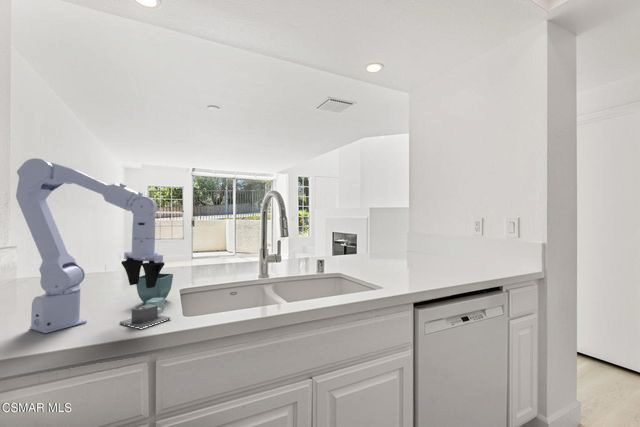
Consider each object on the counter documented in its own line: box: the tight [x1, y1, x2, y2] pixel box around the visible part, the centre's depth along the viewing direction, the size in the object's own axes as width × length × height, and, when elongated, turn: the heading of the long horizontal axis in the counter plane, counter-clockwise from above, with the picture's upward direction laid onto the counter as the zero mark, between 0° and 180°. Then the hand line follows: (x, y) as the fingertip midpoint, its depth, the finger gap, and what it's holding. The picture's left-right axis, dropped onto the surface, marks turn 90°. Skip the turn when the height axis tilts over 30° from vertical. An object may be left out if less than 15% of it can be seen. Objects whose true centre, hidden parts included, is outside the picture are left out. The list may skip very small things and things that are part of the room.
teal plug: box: [145, 297, 166, 310], centre depth 97 cm, size 8×3×4 cm, turn 4°
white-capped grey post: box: [130, 304, 163, 324], centre depth 86 cm, size 8×3×4 cm, turn 154°
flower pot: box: [135, 273, 174, 304], centre depth 107 cm, size 9×9×9 cm
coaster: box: [119, 314, 171, 328], centre depth 86 cm, size 9×9×1 cm
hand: (142, 286), depth 88 cm, fingers open, 7 cm apart
